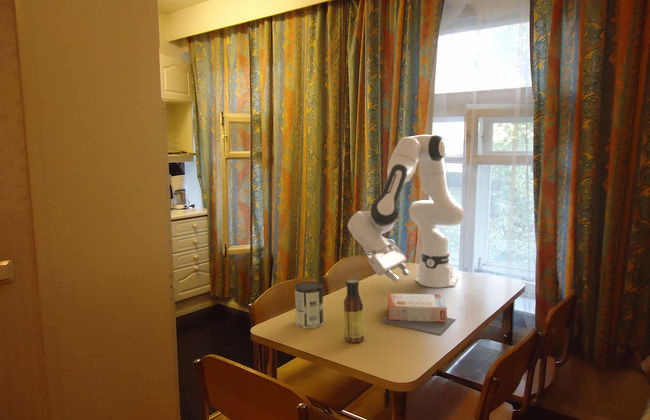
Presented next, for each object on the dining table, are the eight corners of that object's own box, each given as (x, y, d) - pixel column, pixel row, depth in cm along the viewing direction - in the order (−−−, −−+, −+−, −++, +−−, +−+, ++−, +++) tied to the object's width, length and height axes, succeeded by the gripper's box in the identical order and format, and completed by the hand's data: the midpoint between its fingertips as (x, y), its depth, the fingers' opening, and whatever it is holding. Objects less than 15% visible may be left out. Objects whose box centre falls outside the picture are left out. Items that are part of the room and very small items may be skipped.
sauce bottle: (367, 339, 142) (367, 280, 140) (356, 345, 138) (355, 285, 135) (352, 334, 147) (351, 277, 144) (340, 340, 142) (339, 281, 139)
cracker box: (387, 321, 157) (447, 323, 154) (387, 305, 156) (447, 306, 153) (388, 307, 171) (443, 309, 167) (388, 292, 170) (443, 294, 166)
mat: (399, 309, 170) (399, 308, 169) (455, 320, 157) (455, 319, 157) (381, 322, 156) (381, 321, 156) (440, 335, 144) (440, 334, 144)
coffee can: (310, 315, 164) (309, 279, 162) (329, 322, 157) (328, 285, 155) (289, 323, 157) (288, 285, 155) (308, 330, 150) (307, 291, 148)
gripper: (370, 248, 153) (396, 279, 148) (395, 239, 170) (418, 266, 165) (359, 259, 156) (384, 290, 151) (384, 249, 173) (407, 276, 168)
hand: (402, 277), depth 159 cm, fingers open, 8 cm apart
